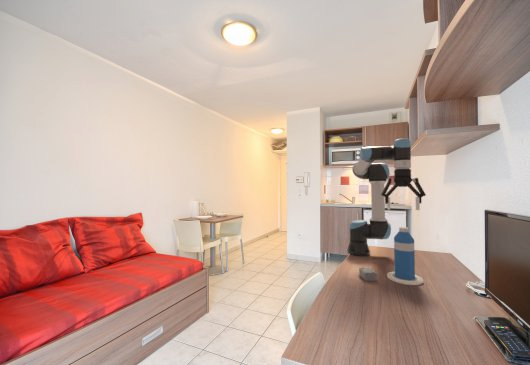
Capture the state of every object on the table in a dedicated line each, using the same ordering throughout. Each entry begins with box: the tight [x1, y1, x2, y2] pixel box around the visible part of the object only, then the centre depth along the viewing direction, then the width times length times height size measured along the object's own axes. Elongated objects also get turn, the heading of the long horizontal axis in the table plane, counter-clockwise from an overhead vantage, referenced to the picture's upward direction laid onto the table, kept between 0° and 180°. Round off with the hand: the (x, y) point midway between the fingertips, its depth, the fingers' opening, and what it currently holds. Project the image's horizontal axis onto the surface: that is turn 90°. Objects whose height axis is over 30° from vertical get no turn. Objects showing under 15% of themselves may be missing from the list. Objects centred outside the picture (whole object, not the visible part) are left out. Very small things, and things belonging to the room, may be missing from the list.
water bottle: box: [393, 226, 416, 280], centre depth 123 cm, size 9×9×25 cm
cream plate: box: [386, 270, 424, 286], centre depth 123 cm, size 16×16×1 cm
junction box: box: [358, 266, 378, 282], centre depth 125 cm, size 8×6×4 cm
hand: (403, 209), depth 124 cm, fingers open, 13 cm apart
